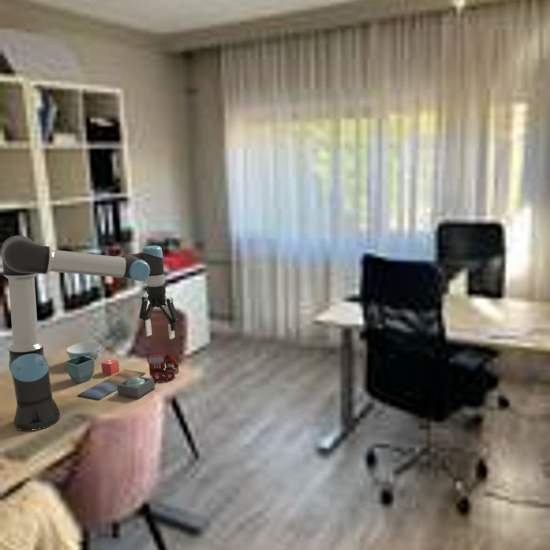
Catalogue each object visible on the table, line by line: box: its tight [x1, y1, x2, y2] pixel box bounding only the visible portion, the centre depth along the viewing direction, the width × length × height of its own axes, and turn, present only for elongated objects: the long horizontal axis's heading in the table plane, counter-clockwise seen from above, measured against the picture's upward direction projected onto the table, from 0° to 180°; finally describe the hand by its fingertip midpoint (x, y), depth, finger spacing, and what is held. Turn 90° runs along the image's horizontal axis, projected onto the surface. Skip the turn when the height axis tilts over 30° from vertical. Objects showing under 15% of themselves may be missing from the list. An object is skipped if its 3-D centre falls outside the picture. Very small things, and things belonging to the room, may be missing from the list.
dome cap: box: [126, 377, 145, 387], centre depth 227 cm, size 7×7×5 cm
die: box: [100, 358, 120, 376], centre depth 249 cm, size 5×5×5 cm
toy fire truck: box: [146, 353, 180, 383], centre depth 240 cm, size 7×12×10 cm, turn 100°
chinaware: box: [66, 341, 102, 362], centre depth 262 cm, size 15×15×8 cm
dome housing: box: [117, 376, 156, 400], centre depth 227 cm, size 10×10×4 cm
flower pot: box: [64, 356, 95, 384], centre depth 242 cm, size 9×9×9 cm
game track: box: [77, 369, 146, 401], centre depth 237 cm, size 28×11×1 cm, turn 154°
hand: (160, 336), depth 237 cm, fingers open, 11 cm apart
